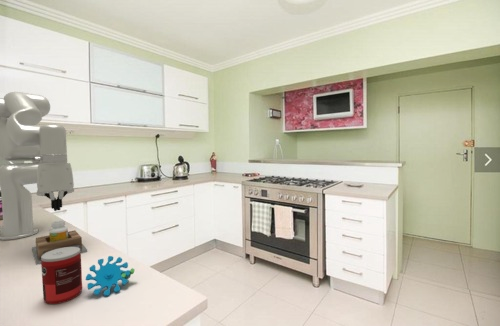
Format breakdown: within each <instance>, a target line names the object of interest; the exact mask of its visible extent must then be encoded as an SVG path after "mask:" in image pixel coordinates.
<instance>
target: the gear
mask: <svg viewBox="0 0 500 326" xmlns="http://www.w3.org/2000/svg"><path fill="white" fill-rule="evenodd" d="M104 261H105V260H104V258H100V259H98V260H97V264H98V265H99V269H96V265H95V264H93V265H91V266H89V268H88V269H89V271H90V272H93V273H94V274H95V276H93V275H92V274H91V273H87V275H86V276H85V280H86V281H95V283H93V282H88V283H87V290H92V289H93V288H95V287H99V286H100V288H95V289H94V290H93V294H94V295H95V296H99V295H100V293H101V291H102V290H103V289H105V288H108V289H105V290H104V292H103V296H105V297H109V296H110V294H111V289H112V287H113V286H114V290H113V292H114V293H118V292H120V291H121V287H120V286H119V283H118V282H119V281H121V285H122V286H126V284H127V283H128V280H129V279H130V278H131V275H133V274H134V273H135V268H133V267H132V268H131V269H128V268H129V263H128V262H127V261H126V262H124V263H122V262H123V258H122V257H121V256H118V257H117V258H116V260H115V261H114V256H113V255H109V256H108V257H107V262H106V264H104ZM112 261H114V262H113V263H111V262H112ZM119 263H122V264H119ZM103 264H104V265H103ZM117 264H119V265H117ZM121 268H123V269H127V270H123V269H121Z"/></svg>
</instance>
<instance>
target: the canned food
mask: <svg viewBox="0 0 500 326" xmlns="http://www.w3.org/2000/svg"><path fill="white" fill-rule="evenodd" d="M40 265H41V266H40V267H41V280H42V281H41V282H42V295H43V296H42V297H43V300H44V302H45V303H46V304H49V305H55V304H62V303H65V302H68V301H71V300H72V299H74V298H76V297H77V296H79V295H80V294H81V292H82V289H83V276H82V253H81V251H80V248H78V247H64V248H59V249H55V250H52V251H49V252H47V253H45V254H43V255H42V256H41V264H40Z"/></svg>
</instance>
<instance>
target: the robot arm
mask: <svg viewBox="0 0 500 326" xmlns="http://www.w3.org/2000/svg"><path fill="white" fill-rule="evenodd" d="M50 111H51V104H50V100H49V99H47V98H46V97H45V96H44V95H40V94H34V93H29V92H23V91H22V92H21V91H11V92H7V93H6V94H5V95H4V97H3V98H2V97H0V160H1V161H4V162H16V163H7V164H3V165H1V166H0V193H1V195H0V196H1V206H2V207H1V208H2V223H3V226H2V225H1V226H0V233H1V234H0V240H2V241H8V240H17V239H22V238H26V237H27V238H28V237H31V236H33V235H36V234H37V233H38V232H39V229H38V228H35V227H34V213H33V196H32V193H31V192H30V190H29V189H27V187H25V185H34V184H36V188H37V190H36V196H38V197H46V198H47V199H49V200H50V206H51V207H50V208H51V209H53V210H54V211H55V212H57V211H61V208H63V198H64V197H65V196H67V195H68V194H71V193H74V192H75V189H74V188H75V187H74V186H75V185H74V184H75V183H74V175H73V168H72V165H71V163H70V162H68V155H67V154H68V150H67V149H68V148H67V147H68V144H67V130H66V128H65V127H64V126H62V125H57V124H43V125H37V124H39V123H40V122H41V121H42V119H43V117H45V116H47V115H48V114H49V113H50ZM18 162H21V163H18ZM55 192H58V193H57V197H55Z"/></svg>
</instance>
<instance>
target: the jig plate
mask: <svg viewBox="0 0 500 326" xmlns="http://www.w3.org/2000/svg"><path fill="white" fill-rule="evenodd" d="M66 247H78V248H80V245H79V244H75V245H71V246H66ZM62 248H64V247H62ZM58 249H59V248H58ZM31 250H32V253H33V254H32V255H33V258H34V262H35V265H41V258H39V256H38V253H37V250H36V246H31ZM53 250H55V249H53ZM49 251H52V250H49ZM49 251H45V252H43V254H45V253H47V252H49ZM80 251H81V254H84V253H87V252H88V248H87V247H86V246H85V245H84V244H83V243H82V248H81V249H80Z"/></svg>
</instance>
